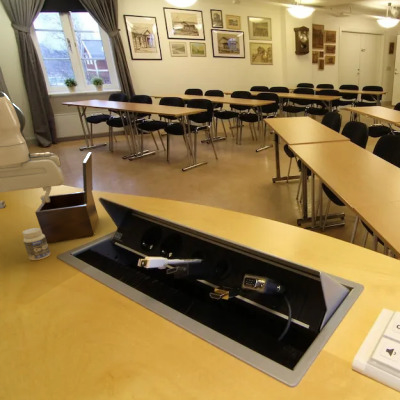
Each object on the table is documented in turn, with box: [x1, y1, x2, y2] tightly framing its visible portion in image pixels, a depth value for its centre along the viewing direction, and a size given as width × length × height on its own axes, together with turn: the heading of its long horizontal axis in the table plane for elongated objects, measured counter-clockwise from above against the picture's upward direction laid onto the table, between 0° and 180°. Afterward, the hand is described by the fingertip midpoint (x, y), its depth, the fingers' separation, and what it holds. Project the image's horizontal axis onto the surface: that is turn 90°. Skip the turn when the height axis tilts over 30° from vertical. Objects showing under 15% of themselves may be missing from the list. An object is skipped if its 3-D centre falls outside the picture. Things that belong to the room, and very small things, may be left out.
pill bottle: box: [22, 227, 51, 261], centre depth 91 cm, size 5×5×8 cm
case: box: [34, 191, 99, 245], centre depth 107 cm, size 13×16×11 cm
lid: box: [82, 151, 94, 204], centre depth 105 cm, size 13×16×1 cm
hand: (24, 205), depth 87 cm, fingers open, 8 cm apart
